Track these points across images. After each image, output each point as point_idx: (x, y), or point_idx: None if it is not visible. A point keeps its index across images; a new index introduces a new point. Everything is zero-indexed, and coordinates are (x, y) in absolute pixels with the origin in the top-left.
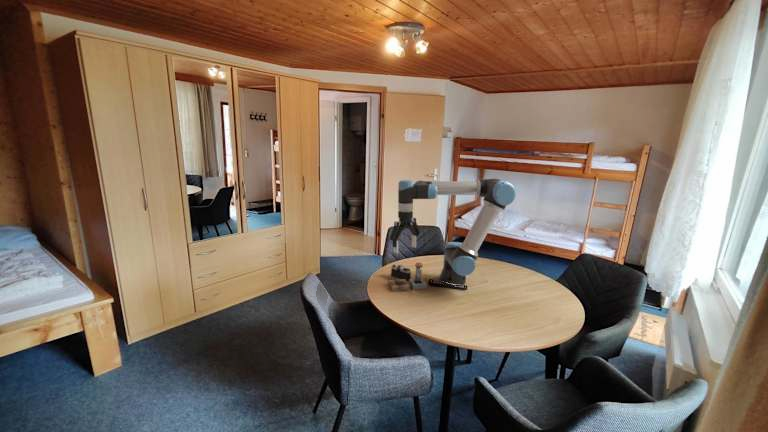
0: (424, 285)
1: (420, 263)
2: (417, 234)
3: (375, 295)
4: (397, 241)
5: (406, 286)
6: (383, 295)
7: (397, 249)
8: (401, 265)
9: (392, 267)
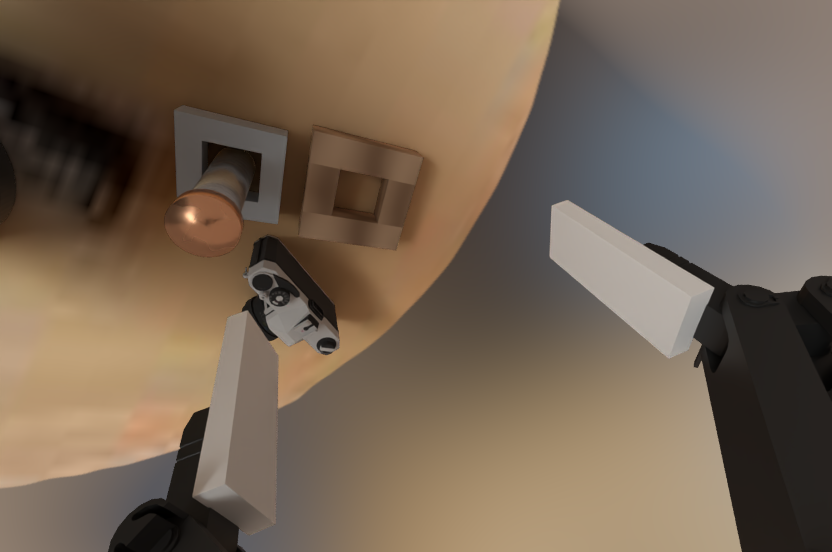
0: (198, 114)
1: (183, 232)
2: (149, 541)
3: (506, 150)
4: (707, 287)
5: (339, 139)
6: (475, 133)
7: (598, 222)
8: (295, 327)
9: (338, 336)
